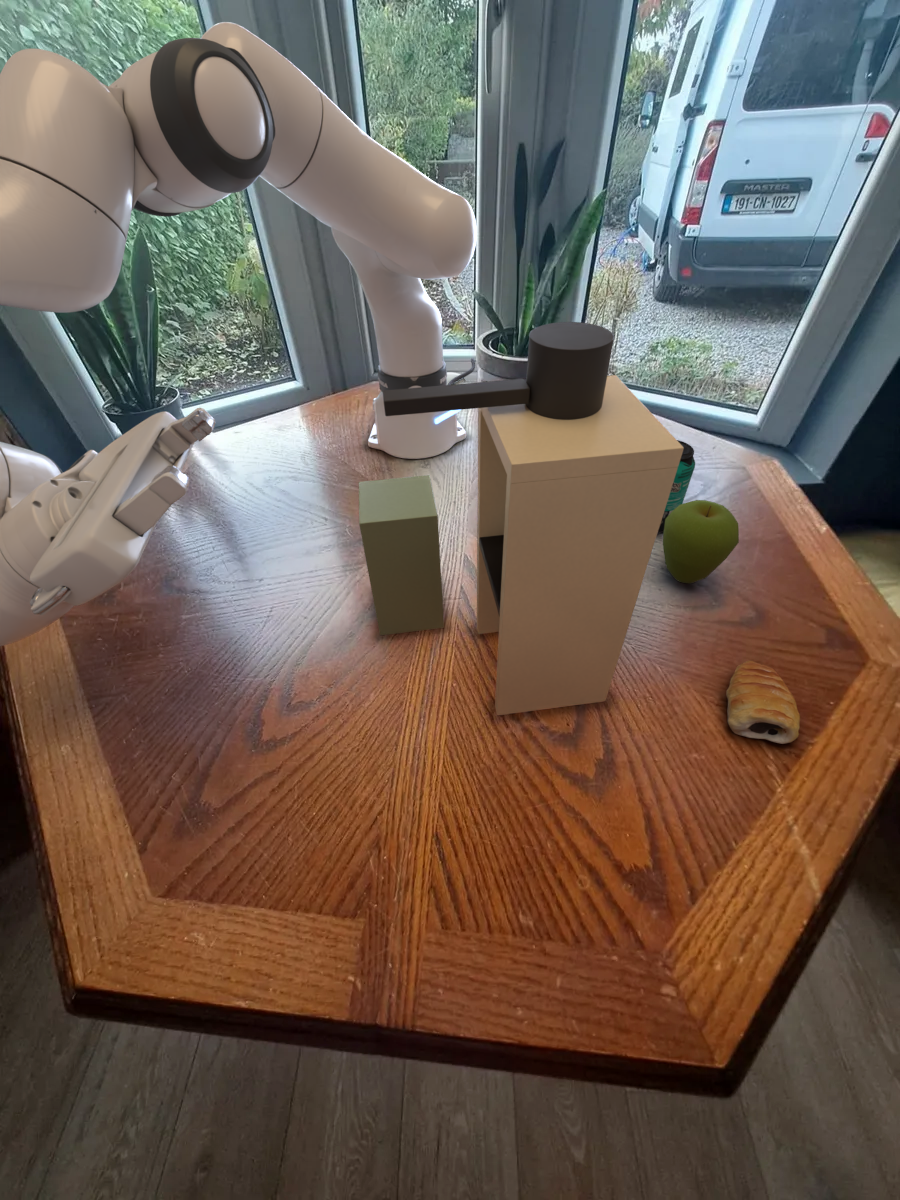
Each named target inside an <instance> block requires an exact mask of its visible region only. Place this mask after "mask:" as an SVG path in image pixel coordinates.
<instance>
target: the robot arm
mask: <svg viewBox="0 0 900 1200" xmlns="http://www.w3.org/2000/svg"><path fill="white" fill-rule="evenodd" d="M259 177H260V178H261V179H262V180H263V181H265V182H267V183H268V184H269V185H270V186H272V187H273V188H275V189H276V190H277V191H278V192H280V193H281V194H283V196H285V197H286V198H288V199H289V200H290V201H292V202H293V203H295V204H296V205H297V206H299V207H300V208H301V209H302V210H304V211H306V212H307V213H308V214H310V215H311V216H313V217H314V218H315V219H317V220H318V221H319V222H320V223H322V224H323V225H326V226H327V227H329V228H330V229H331V234H332V237H333V239H334V242H335V243H336V245H337V248H339V250H340V251H341V252H342V253H343V254H344V256H345V257H346V258H347V260H348V261H349V263H350V265H351V266H352V268H353V270H354V273H355V274H356V277H357V279H358V281H359V284H360V286H361V289H362V292H363V294H364V297H365V299H366V302H367V305H368V309H369V310H370V315H371V319H372V323H373V328H374V335H375V343H376V348H377V356H378V364H379V365H378V366H377V382H378V387H379V390H380V392H379V394H378V396H376V397H375V398H373V399H372V410H373V412H374V423H373V426H372V428H371V432H370V434H369V436H368V440H367V445H368V448H372V449H375V450H381V451H383V452H384V453H386V454H388V455H390V456H392V457H395V458H402V459H407V460H408V459H409V460H416V459H417V460H419V459H420V460H421V459H428V458H431V457H436V456H438V455H441V454H444V453H445V452H447V451H449V450H450V449H451V448H453V446H454V445H456V443H459V442H461V441H463V440H465V439H466V438H467V431H466V429H465V428H464V427H463V425H461V423H460V422H459V421H458V417H457V416H458V415H457V413H459V412H461V410H451V411H440V412H429V413H418V414H407V415H396V416H385V409H384V401H383V391H385V390H396V389H408V388H420V387H431V386H443V385H454V384H455V383H456V382H457V381H458V382H459V381H460V380H462V379H463V378H465V377H468V376H469V375H471V374H472V373H473V372H474V371H475V369H476V360H475V358H474V357H471V359H470V363H471V367H470V368H469V369H468V370H467V371H465V372H463V373H460V374H459V375H457V376H455V377H453V378H452V379H450V381H447V380H448V371H447V365H446V362H445V360H444V345H443V340H444V339H443V320H442V315H441V313H440V310H439V308H438V306H437V305H436V304H435V302H434V301H433V300H432V299H431V297H430V296H429V294H428V293H427V291H426V289H425V286H424V285H423V282H422V280H427V281H429V280H443V279H450V278H455V277H457V276H459V275H461V274H462V273H463V272H464V271H465V270H466V269H467V267H468V265H469V264H470V262H471V260H472V258H473V256H474V254H475V250H476V245H477V235H478V231H477V220H476V216H475V213H474V211H473V208H472V205H470V203H469V201H468V200H467V199H466V198H465V197H463V196H462V195H460V194H458V193H456V192H454V191H453V190H450V189H448V188H446V187H444V186H442V185H441V184H439V183H437V182H436V181H434V180H432V179H431V178H429V177H428V176H427V175H425V174H424V173H423V172H421V171H419V170H418V169H417V168H415V167H414V166H413V165H411V164H410V163H409V162H407V161H406V160H404V159H403V158H402V157H400V156H398V155H397V154H395V153H394V152H392V151H391V150H389V149H388V148H387V147H385V146H383V145H381V144H380V143H378V142H377V141H376V140H374V139H373V138H372V137H370V136H369V135H368V134H367V133H366V132H364V131H363V130H362V129H361V128H360V127H359V126H358V125H357V124H356V123H355V122H354V121H353V120H352V119H351V118H349V116H347V114H346V113H344V111H342V110H341V109H340V107H339V106H337V105H336V104H335V103H334V102H333V101H332V100H331V99H330V98H329V96H327V94H325V92H323V90H321V88H320V87H318V86H317V85H316V84H315V82H313V81H312V80H311V79H310V78H309V77H308V76H307V75H306V74H305V73H304V72H303V71H302V70H300V69H299V68H298V67H297V66H296V65H294V63H292V62H291V61H290V60H289V59H288V58H287V57H285V56H284V55H282V54H281V52H279V51H278V50H276V49H275V48H274V47H272V46H271V45H269V44H268V43H267V42H266V41H264V40H263V39H261V38H260V37H259V36H257V35H255V34H254V33H252V32H251V31H249V30H248V29H247V28H245V27H244V26H241V25H240V24H238V23H234V22H231V21H230V22H229V21H222V22H217V23H215V24H213V25H212V26H211V27H209V28H208V29H207V30H206V31H205V32H204V33H203V34H202V36H201V37H184V38H177V39H173V40H171V41H168V42H166V43H165V44H163V45H162V46H161V47H160V48H159V50H158V51H155V52H152V53H150V54H148V55H146V56H144V57H142V58H140V59H138V60H136V61H135V62H134V63H132V64H130V65H129V66H128V67H127V68H126V69H124V71H123V72H122V74H121V75H120V77H118V78H117V79H116V80H114V81H113V82H112V83H111V84H110V85H109V86H108V85H106V84H104V83H103V82H101V80H99V79H98V78H97V77H95V76H94V75H93V74H92V73H91V72H89V71H88V70H87V69H86V68H84V66H83V67H82V66H81V65H80V64H78V63H77V62H74V61H73V60H71V59H70V58H68V57H65V56H63V55H62V54H59V53H56V52H54V51H52V50H47V49H41V48H24V49H20V50H19V51H16V52H14V53H13V54H12V55H11V56H10V57H9V58H8V59H7V61H6V62H5V64H4V66H3V68H2V69H1V72H0V306H3V307H10V308H16V309H23V310H28V311H36V312H46V313H57V314H59V313H61V314H62V313H64V314H66V313H76V312H81V311H86V310H89V309H91V308H93V307H95V306H97V305H99V304H100V303H102V302H104V300H106V299H107V298H108V297H109V296H110V295H111V293H112V292H113V289H114V288H115V286H116V283H117V281H118V278H119V276H120V272H121V269H122V264H123V260H124V255H125V251H126V244H127V240H128V236H129V228H130V224H131V217H132V212H133V210H136V211H139V212H141V213H143V214H146V215H151V216H157V217H165V218H167V217H169V218H171V217H175V216H178V215H181V214H182V213H189V212H195V211H199V210H203V209H205V208H209V207H211V206H213V205H215V204H216V203H217V202H219V201H221V200H223V199H226V198H227V197H229V196H230V195H231V194H235V193H239V192H242V191H244V190H246V189H247V188H249V187H250V186H252V184H254V183H255V182H256V181H257V179H258V178H259ZM215 425H216V419H215V418H214V417H213V416H212V415H211V414H210V413H209V412H208V411H207V410H206V409H205V408H202V407H197V408H195V409H194V410H193V411H192V412H191V413H189V414H188V415H186V416H184V417H182V418H179V419H177V418H176V417H175V416H174V415H172V413H170V412H169V411H160V412H157V413H154V414H152V415H150V416H149V417H147V418H145V419H144V420H143V421H141V422H140V423H138V424H136V425H135V426H133V427H132V428H131V429H129V430H127V431H126V432H125V433H123V434H122V435H120V436H119V437H118V438H116V439H114V440H113V441H112V442H110V443H109V444H108V445H106V446H105V447H104V448H102V449H101V450H100V451H99V452H97V451H96V450H94V449H89V450H87V451H86V452H85V453H84V454H82V455H81V456H79V458H78V459H77V460H75V462H73V463H72V464H71V465H70V467H68V469H66V470H65V471H64V472H63V470H62V469H61V468H60V466H59V465H58V464H57V463H56V462H55V461H54V460H53V459H52V458H51V457H49V456H48V455H46V454H43V453H41V452H37V451H34V450H31V449H28V448H24V447H21V446H18V445H14V444H11V443H8V442H5V441H4V442H3V441H0V647H3V646H8V645H11V644H14V643H17V642H19V641H22V640H24V639H27V638H28V637H32V636H33V635H35V634H38V632H40V631H43V629H45V628H47V627H49V626H50V625H52V624H53V623H55V622H57V621H58V620H59V619H61V618H62V617H63V616H65V615H67V614H68V613H69V612H70V611H72V609H73V608H74V607H79V606H83V605H84V604H87V603H89V602H90V601H91V602H92V600H94V599H96V598H98V597H100V596H101V595H103V594H105V593H106V592H108V591H109V590H111V589H112V588H115V587H116V586H118V585H119V584H121V583H122V582H123V581H125V579H126V578H128V576H130V575H131V574H132V572H133V571H134V570H135V569H136V567H137V566H138V565H139V563H140V561H141V559H142V556H143V554H144V551H145V549H146V548H147V545H148V544H149V541H150V538H152V537H151V536H152V535H153V532H154V530H155V528H156V526H157V524H158V522H159V520H160V519H161V518H162V517H163V516H164V515H165V513H166V512H167V511H169V509H170V507H171V506H172V505H173V504H174V503H176V502H177V501H179V500H180V499H182V498H183V497H184V496H185V495H186V493H187V491H188V488H189V485H190V483H191V480H190V477H189V476H188V475H187V474H185V473H182V471H183V469H184V466H185V464H186V462H187V459H188V457H189V454H190V453H191V451H192V449H193V447H194V445H195V443H196V442H197V441H198V442H201V441H203V440H204V439H205V438H206V437H208V436H209V435H210V434H212V432H213V430H214V429H215Z"/></svg>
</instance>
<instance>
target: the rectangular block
mask: <svg viewBox="0 0 900 1200" xmlns="http://www.w3.org/2000/svg"><path fill="white" fill-rule="evenodd" d="M438 515H439V514H438V509H437V505H436V500H435V496H434V490H433V485H432V480H431V475H430V474H427V475H415V476H405V477H404V476H403V477H394V478H385V479H384V478H383V479H374V480H363V481H358V525H359V530H360V536H361V541H362V547H363V550H364V551H363V552H364V557H365V562H366V563H365V564H366V568H367V573H368V578H369V584H370V589H371V593H372V600H373V605H374V610H375V615H376V623H377V626H378V627H377V628H378V632H379V636H389V635H397V634H405V633H413V632H421V631H430V630H437V629H445V620H444V619H445V618H444V604H443V603H444V602H443V601H444V600H443V584H442V582H443V581H442V568H441V567H442V565H441V549H440V548H441V547H440V532H439V529H440V528H439V516H438Z"/></svg>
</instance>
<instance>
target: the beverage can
mask: <svg viewBox="0 0 900 1200" xmlns="http://www.w3.org/2000/svg"><path fill="white" fill-rule="evenodd" d="M676 440H677V441H678V442H679V443H680V444H681V445H682V446H683V447H684V449H683V452H682V456H681V459H680V462H679V465H678V469H677V472H676V475H675V478H674V481H673V485H672V488H671V491H670V494H669V498H668V501H667V504H666V507H665V510H664V514H663V517H662V520H661V523H660V527H659V530H658V533H661V532H664V525H665V519H666V518H667V517H668V515H669V514H670V513H671V512H672V511H673V510H674V509H675V508H676V507H678V506H679V505H680V504H683V503H684V500H685V497H686V496H687V491H688V489H689V486H690V482H691V480H692V477H693V474H694V471H695V468H696V460H695V458H694V457H695V456H694V455H695V449H694V448H693V446H691V444H688V443H687V442H685V441H682V440H679V439H676Z"/></svg>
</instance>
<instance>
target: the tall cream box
mask: <svg viewBox="0 0 900 1200" xmlns="http://www.w3.org/2000/svg"><path fill="white" fill-rule="evenodd" d="M477 410H478V411H477V505H476V506H477V510H476V511H477V516H476V517H477V521H476V522H477V524H476V526H477V528H476V532H477V533H476V543H477V544H476V631H477V634H478V635H483V634H492V633H498V639H497V641H498V642H497V659H496V660H497V661H496V678H495V695H494V696H495V698H494V709H495V713H496V716H505V715H513V714H521V713H526V712H527V713H528V712H535V711H541V710H549V709H557V708H564V707H566V708H567V707H572V706H573V707H574V706H579V705H588V704H595V703H603V702H606V701H607V698H608V694H609V690H610V688H611V685H612V681H613V678H614V675H615V671H616V669H617V665H618V662H619V659H620V656H621V652H622V649H623V645H624V642H625V640H626V637H627V633H628V630H629V627H630V623H631V619H632V618H633V613H634V611H635V607H636V605H637V601H638V597H639V595H640V591H641V588H642V584H643V582H644V578H645V574H646V571H647V568H648V565H649V562H650V560H651V556H652V552H653V549H654V546H655V543H656V540H657V537H658V533H659V532H658V530H659V527H660V523H661V520H662V517H663V514H664V510H665V507H666V504H667V501H668V498H669V494H670V491H671V488H672V485H673V481H674V478H675V475H676V472H677V469H678V465H679V462H680V459H681V456H682V452H683V449H684V447H683V446H682V445H681V444H680V443H679V442H678V441H677V440H678V439H676V438H675V436H674V435H673V434H672V433H671V432H669V430H668V429H667V428H666V426H664V425H663V423H661V421H659V419H658V418H657V417H656V416H655V415H654V414H653V413H652V411H650V410H649V409H648V408H647V407H646V405H644V404H643V402H642V401H641V400H640V399H639V398H638V397H637V396H636V395H635V393H634V392H632V390H631V389H630V388H629V387H627V385H626V384H625V383H624V382H623V380H621V379H620V378H619V377H618V376H617V374H613V375H612V374H611V375H607V380H606V386H605V391H604V397H603V403H602V407H601V409H600V410H599V411H598V412H597V413H595V414H593V415H591V416H589V417H585V418H580V419H572V420H561V419H552V418H547V417H543V416H540V415H538V414H535V413H533V412H532V411H530V410H529V409H528V408H527V407H526V405H525V404H518V405H507V406H496V407H485V408H477Z"/></svg>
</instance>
